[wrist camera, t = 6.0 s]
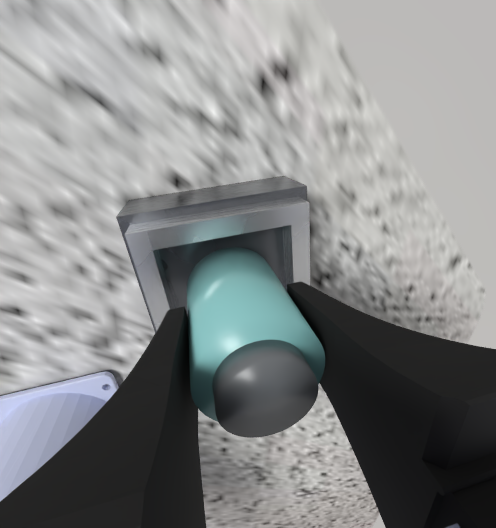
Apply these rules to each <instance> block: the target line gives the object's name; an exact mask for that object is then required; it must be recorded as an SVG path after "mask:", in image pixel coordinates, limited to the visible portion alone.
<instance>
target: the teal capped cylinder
mask: <svg viewBox="0 0 496 528" xmlns="http://www.w3.org/2000/svg"><path fill="white" fill-rule="evenodd" d="M187 312H188V339H189V365H190V389H191V395H192V399H193V401H194V403H195V405H196V406H197V407H198V409H199V410H200V411H201V412H202V413H203V414H205V415H206V416H208V417H209V418H211V419H213V420H215V421H218V422H219V424H220V425H221V426H222V427H223V428H224V429H225V430H226V431H228V432H230V433H232V434H234V435H237V436H242V437H263V436H268V435H272V434H275V433H278V432H281V431H283V430H285V429H287V428H289V427H291V426H292V425H294V424H295V423H297V422H298V421H299V420H301V419H302V418H303V417H304V416H305V415H306V414H307V413H308V412H309V410H310V409H311V408H312V406H313V405H314V403H315V401H316V398H317V395H318V384H319V382H320V380H321V378H322V375H323V373H324V368H325V353H324V349H323V346H322V345H321V343H320V341H319V339H318V338H317V336H316V335H315V333H314V332H313V330H312V329H311V327H310V326H309V324H308V323H307V321H306V320H305V318H304V317H303V315H302V314H301V312H300V311H299V309H298V308H297V306H296V305H295V303H294V302H293V300H292V299H291V297H290V296H289V294H288V293H287V291H286V290H285V288H284V287H283V285H282V284H281V282H280V280H279V279H278V277H277V276H276V274H275V273H274V271H273V270H272V268H271V267H270V265H269V264H268V263H267V261H266V260H265V259H264V258H263V257H262V256H260V255H259V254H258V253H256V252H254V251H251V250H249V249H245V248H238V247H231V248H224V249H220V250H217V251H215V252H212V253H210V254H209V255H207V256H205V257H204V258H203V259H202V260H200V261H199V262H198V263H197V265H196V266H195V267H194V268H193V270H192V272H191V274H190V276H189V279H188V282H187Z"/></svg>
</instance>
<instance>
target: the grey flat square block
mask: <svg viewBox="0 0 496 528" xmlns="http://www.w3.org/2000/svg"><path fill="white" fill-rule="evenodd" d="M117 220H118V223H119V226H120V229H121V232H122V235H123V238H124V241H125V244H126V247H127V250H128V253H129V256H130V259H131V262H132V265H133V268H134V271H135V274H136V277H137V280H138V283H139V286H140V289H141V292H142V294H143V297H144V300H145V303H146V306H147V309H148V312H149V315H150V318H151V321H152V324H153V327H154V330H155V333H156V331H157V330H158V328H159V326H160V324H161V322H162V320H163V318H164V316H165V314H166V313H167V311H168V310H170V309H174V308H179V307H184V306H185V309H186V313H187V317H188V312H187V282H188V279H189V276H190V274H191V272H192V270H193V268H194V267H195V266H196V265H197V263H198V262H199V261H200V260H202V259H203V258H204V257H205V256H207V255H209V254H210V253H212V252H215V251H217V250H220V249H224V248H231V247H238V248H245V249H249V250H251V251H254V252H256V253H258V254H259V255H260V256H262V257H263V258H264V259H265V260H266V261H267V263H268V264H269V265H270V267H271V268H272V270H273V271H274V273H275V274H276V276H277V277H278V279H279V280H280V282H281V284H282V285H283V287H284V288H285V290H286V291H287V284H291V283H295V282H300V281H302V282H304V283H306V284H308V285H310V218H309V202H307V186H306V185H304V184H301V183H299V182H297V181H294V180H292V179H290V178H287V177H285V176H281V177H275V178H268V179H262V180H256V181H249V182H243V183H236V184H230V185H223V186H217V187H211V188H204V189H198V190H191V191H185V192H179V193H172V194H166V195H159V196H153V197H147V198H140V199H134V200H129V201H128V202H127V203H126V205H125V206H124V207H123V209H122V210H121V211H120V213H119V214H118V215H117Z"/></svg>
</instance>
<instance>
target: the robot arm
mask: <svg viewBox="0 0 496 528" xmlns="http://www.w3.org/2000/svg"><path fill="white" fill-rule="evenodd" d="M287 293H288V294H289V296H290V297H291V299H292V300H293V302H294V303H295V305H296V306H297V308H298V309H299V311H300V312H301V314H302V315H303V317H304V318H305V320H306V321H307V323H308V324H309V326H310V327H311V329H312V330H313V332H314V333H315V335H316V336H317V338H318V339H319V341H320V343H321V345H322V346H323V349H324V353H325V368H324V373H323V375H322V378H321V380H320V384H321V386H322V388H323V389H324V391H325V393H326V394H327V396H328V398H329V400H330V402H331V404H332V405H333V408H334V410H335V412H336V414H337V416H338V418H339V420H340V422H341V425H342V427H343V429H344V431H345V433H346V435H347V438H348V440H349V442H350V444H351V447H352V449H353V451H354V453H355V455H356V458H357V460H358V462H359V465H360V467H361V469H362V472H363V474H364V476H365V479H366V481H367V483H368V486H369V488H370V490H371V493H372V495H373V497H374V500H375V502H376V505H377V507H378V510H379V512H380V515H381V517H382V520H383V522H384V524H385V527H386V528H496V349H491V348H484V347H478V346H473V345H468V344H464V343H459V342H455V341H450V340H446V339H442V338H438V337H434V336H430V335H426V334H423V333H419V332H416V331H412V330H409V329H406V328H402V327H399V326H396V325H394V324H391V323H388V322H385V321H383V320H380V319H377V318H375V317H372V316H370V315H367V314H365V313H363V312H361V311H358V310H356V309H354V308H352V307H350V306H348V305H345V304H343V303H341V302H339V301H337V300H336V299H334V298H332V297H330V296H328V295H326V294H324V293H322V292H321V291H319V290H317V289H315V288H313V287H311V286H310V285H308V284H306V283H304V282H302V281H300V282H295V283H291V284H287ZM105 384H108V385H105ZM0 528H206V521H205V511H204V501H203V490H202V480H201V469H200V457H199V445H198V407H197V406H196V405H195V403H194V401H193V399H192V395H191V389H190V365H189V339H188V317H187V313H186V309H185V306H184V307H179V308H174V309H170V310H168V311H167V313H166V314H165V316H164V318H163V320H162V322H161V324H160V326H159V328H158V330H157V331H156V333H155V335H154V337H153V338H152V340H151V342H150V344H149V345H148V347H147V349H146V350H145V352H144V353H143V355H142V356H141V358H140V359H139V361H138V362H137V364H136V365H135V367H134V368H133V370H132V371H131V372H130V374H129V375H128V377H127V378H126V379H125V380H124V382H123V383H122V384H121V386H120V387H119V386H118V384H117V382H116V380H115V378H114V376H113V374H112V373H110V372H100V373H95V374H91V375H87V376H83V377H79V378H74V379H70V380H66V381H62V382H58V383H53V384H49V385H45V386H41V387H37V388H32V389H28V390H24V391H20V392H16V393H11V394H7V395H3V396H0Z"/></svg>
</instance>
